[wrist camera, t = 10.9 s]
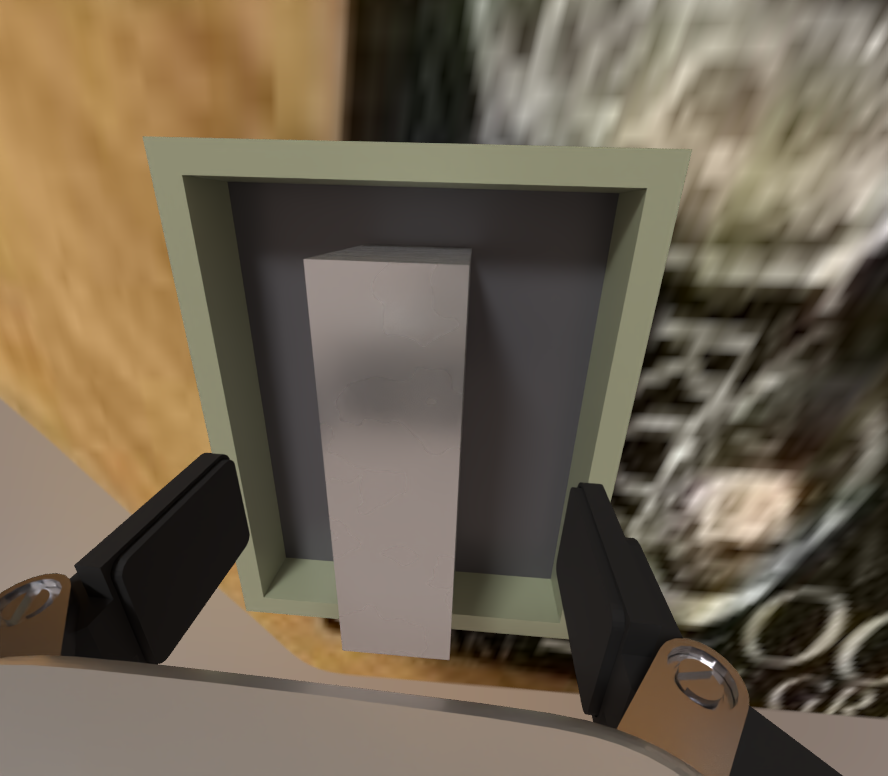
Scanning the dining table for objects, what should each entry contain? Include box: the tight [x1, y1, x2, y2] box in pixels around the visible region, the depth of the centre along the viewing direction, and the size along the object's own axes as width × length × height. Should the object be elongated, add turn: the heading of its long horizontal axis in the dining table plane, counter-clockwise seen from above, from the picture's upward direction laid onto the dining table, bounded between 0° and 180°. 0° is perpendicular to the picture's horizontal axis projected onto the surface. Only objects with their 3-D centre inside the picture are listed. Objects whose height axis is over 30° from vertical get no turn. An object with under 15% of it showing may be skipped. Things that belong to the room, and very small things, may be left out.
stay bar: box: [303, 244, 472, 660], centre depth 15 cm, size 4×14×6 cm, turn 178°
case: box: [143, 137, 692, 639], centre depth 17 cm, size 16×20×4 cm
